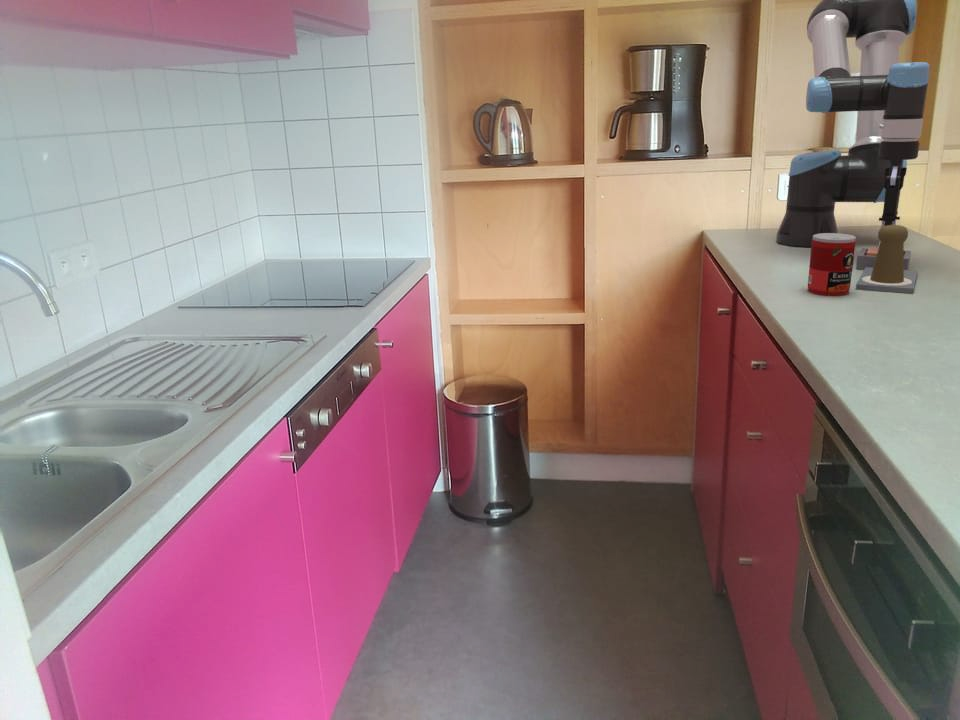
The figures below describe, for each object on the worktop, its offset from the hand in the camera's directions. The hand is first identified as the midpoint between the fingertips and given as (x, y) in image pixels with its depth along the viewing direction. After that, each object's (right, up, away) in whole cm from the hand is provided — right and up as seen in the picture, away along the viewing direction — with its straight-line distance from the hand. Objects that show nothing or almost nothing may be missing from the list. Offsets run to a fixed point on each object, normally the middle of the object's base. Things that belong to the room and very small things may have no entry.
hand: (885, 249), depth 170 cm
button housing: (0, -4, +1) cm, 4 cm away
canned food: (-21, -11, -18) cm, 30 cm away
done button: (0, -3, +1) cm, 3 cm away
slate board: (-6, -8, -13) cm, 16 cm away
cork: (-8, -9, -16) cm, 20 cm away
